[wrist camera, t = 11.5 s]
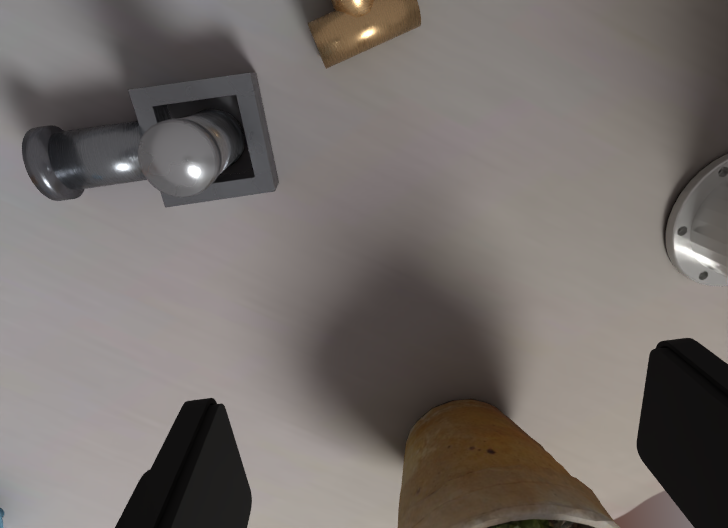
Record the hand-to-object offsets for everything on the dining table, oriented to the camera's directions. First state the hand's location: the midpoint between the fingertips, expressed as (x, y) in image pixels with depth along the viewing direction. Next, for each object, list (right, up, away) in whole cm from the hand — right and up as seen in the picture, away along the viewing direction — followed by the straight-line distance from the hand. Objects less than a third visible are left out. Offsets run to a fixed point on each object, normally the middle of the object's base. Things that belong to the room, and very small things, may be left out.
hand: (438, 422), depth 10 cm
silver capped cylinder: (-13, +13, +24) cm, 30 cm away
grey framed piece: (-16, +12, +23) cm, 31 cm away
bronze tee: (-2, +22, +21) cm, 30 cm away
